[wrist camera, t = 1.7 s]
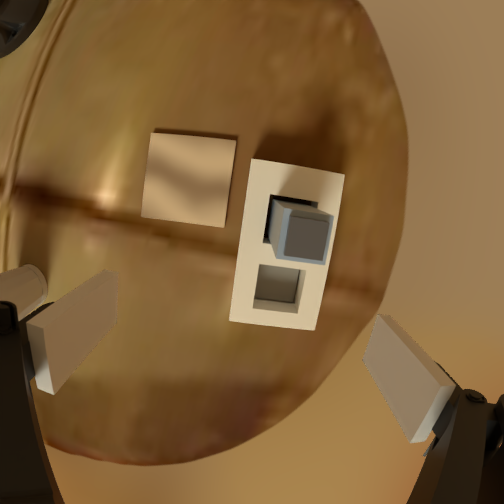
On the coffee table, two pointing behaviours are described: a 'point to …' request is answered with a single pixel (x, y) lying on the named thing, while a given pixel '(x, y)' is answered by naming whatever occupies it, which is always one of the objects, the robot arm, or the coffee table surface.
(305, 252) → the plug
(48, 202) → the coffee table surface
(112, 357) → the coffee table surface
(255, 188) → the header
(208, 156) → the pad
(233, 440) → the coffee table surface
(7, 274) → the cup
